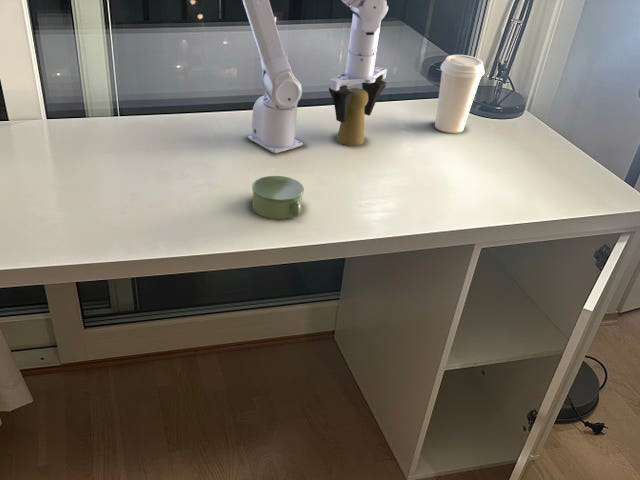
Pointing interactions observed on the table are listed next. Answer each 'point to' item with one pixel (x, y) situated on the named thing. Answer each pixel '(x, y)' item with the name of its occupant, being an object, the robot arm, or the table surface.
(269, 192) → the upturned mug
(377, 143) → the table surface
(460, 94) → the coffee cup
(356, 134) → the brown pawn
